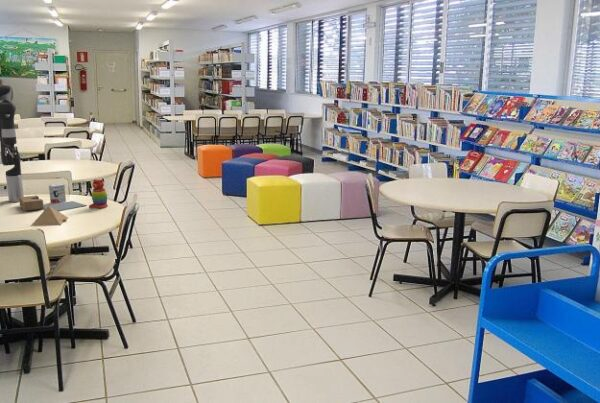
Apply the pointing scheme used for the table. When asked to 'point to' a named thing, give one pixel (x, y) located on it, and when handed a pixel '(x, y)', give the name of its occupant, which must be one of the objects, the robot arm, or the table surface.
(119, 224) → the table surface
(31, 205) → the decorative block
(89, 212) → the table surface
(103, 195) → the stacking bear
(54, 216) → the model pyramid
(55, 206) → the mat
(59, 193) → the ink box
